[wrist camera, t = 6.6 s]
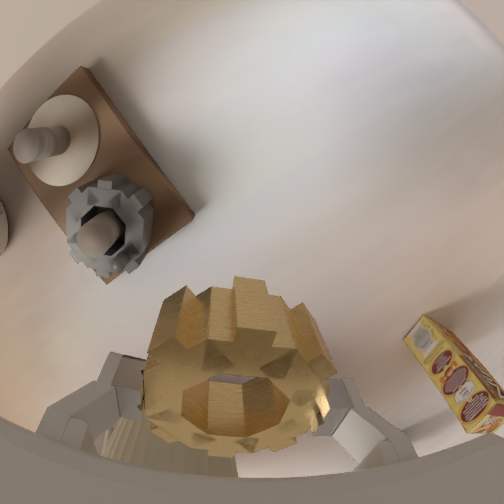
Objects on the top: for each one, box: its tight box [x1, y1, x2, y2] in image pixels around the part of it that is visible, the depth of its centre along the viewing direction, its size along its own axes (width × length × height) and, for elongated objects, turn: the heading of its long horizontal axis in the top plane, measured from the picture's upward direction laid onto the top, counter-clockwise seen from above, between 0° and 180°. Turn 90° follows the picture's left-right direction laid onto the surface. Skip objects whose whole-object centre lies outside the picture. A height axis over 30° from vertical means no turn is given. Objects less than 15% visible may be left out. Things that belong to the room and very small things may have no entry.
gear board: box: [8, 66, 195, 284], centre depth 19 cm, size 16×10×6 cm, turn 34°
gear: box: [66, 173, 154, 278], centre depth 20 cm, size 7×7×5 cm
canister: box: [102, 412, 238, 478], centre depth 24 cm, size 18×18×21 cm
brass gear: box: [143, 276, 337, 458], centre depth 11 cm, size 7×7×3 cm
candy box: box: [404, 315, 504, 433], centre depth 25 cm, size 9×4×15 cm, turn 60°
